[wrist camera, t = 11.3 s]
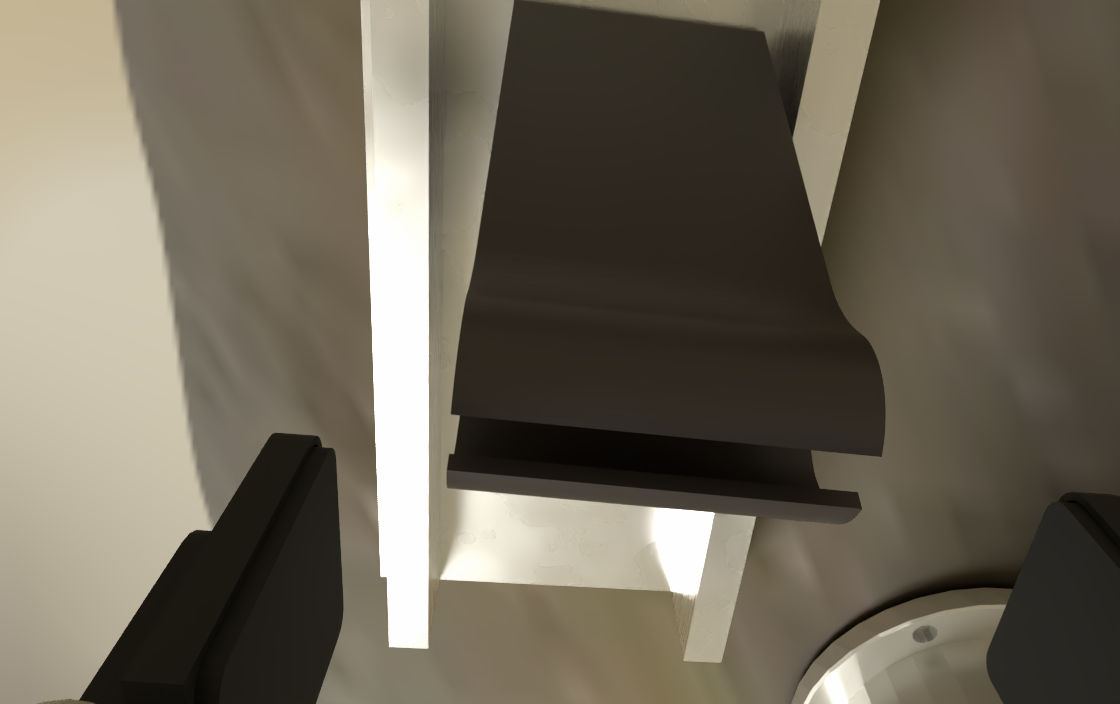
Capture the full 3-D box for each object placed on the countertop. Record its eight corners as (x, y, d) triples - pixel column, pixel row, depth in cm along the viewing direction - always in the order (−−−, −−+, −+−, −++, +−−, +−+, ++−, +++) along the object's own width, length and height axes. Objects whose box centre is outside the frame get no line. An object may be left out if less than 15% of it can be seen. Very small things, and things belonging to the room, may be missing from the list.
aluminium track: (962, -487, 17) (1073, -591, 13) (723, 573, 30) (746, 663, 26) (351, -554, 16) (296, -680, 12) (386, 556, 29) (363, 645, 26)
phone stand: (515, -5, 20) (472, 106, 9) (762, 29, 20) (992, 173, 10) (483, 331, 24) (428, 670, 13) (687, 353, 24) (790, 700, 14)
